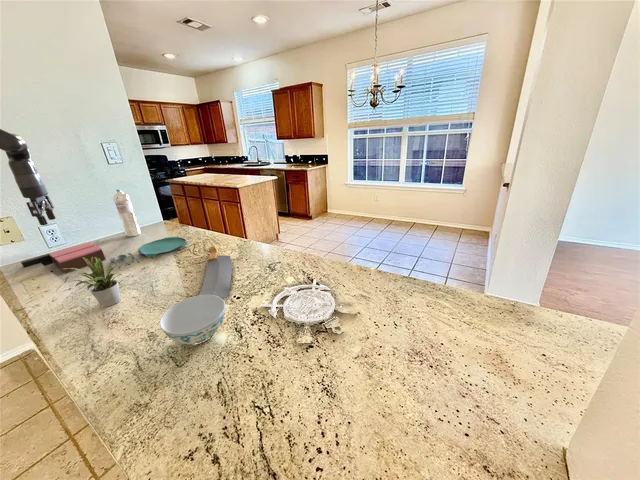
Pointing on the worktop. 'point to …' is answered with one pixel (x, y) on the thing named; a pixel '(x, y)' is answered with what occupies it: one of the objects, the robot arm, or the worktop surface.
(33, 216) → the robot arm
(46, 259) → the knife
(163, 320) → the chinaware
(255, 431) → the worktop surface
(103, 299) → the house plant
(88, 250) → the two-tone red slab
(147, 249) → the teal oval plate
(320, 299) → the pendant
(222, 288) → the cleaver
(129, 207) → the water bottle
